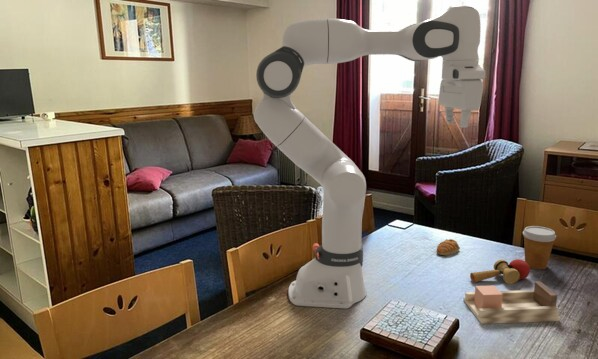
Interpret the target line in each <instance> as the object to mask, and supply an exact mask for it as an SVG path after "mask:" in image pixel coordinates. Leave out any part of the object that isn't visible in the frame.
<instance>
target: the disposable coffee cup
mask: <svg viewBox="0 0 598 359" xmlns="http://www.w3.org/2000/svg"><path fill="white" fill-rule="evenodd" d="M522 236H523V241H524V242H523V245H524V247H523V248H524V261H525V262H526V263H527V264H528V265H529V267H530V269H534V270H545V269H547V267H548V264H549V260H550V257H551V254H552V250H553V246H554V242H555V240H556V238H557V235H556V232H555V230H553V229H552V228H549V227H544V226H539V225H531V226H530V225H529V226H526V227H525V228H524V229H523V231H522Z"/></svg>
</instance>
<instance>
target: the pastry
mask: <svg viewBox="0 0 598 359" xmlns="http://www.w3.org/2000/svg"><path fill="white" fill-rule="evenodd" d="M460 250H461V248H460V246H459V244H458V242H457V240H454V239H452V238H449V239H447V238H446V239H445V240H443V241H441V242H439V243H438V245H437V247H436V255H441V256H445V257H448V256H451V255H452V256H453V255H454V254H456V253H458V252H459V251H460Z"/></svg>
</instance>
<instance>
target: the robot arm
mask: <svg viewBox="0 0 598 359" xmlns="http://www.w3.org/2000/svg"><path fill="white" fill-rule="evenodd" d="M480 43H481V15H480V13H479V11H478V9H476V8H474V7H472V6H469V5H458V4H457V5H452V6H449V7H448V8H447V9H446V10H444V11H443V12H441V13H439V14H438V15H436V16H433V17H431V18H428V19H426V20H424V21H423V20H422V21H421V22H418V23H413V24H410V25H407V26H406V27H403V28H402V29H399V30H398V29H397V30H370V29H365V28H363V27H361V26H360V25H358V24H357V23H356V22H355V21H353V20H348V19H341V18H313V19H306V20H300V21H296V22H295V21H294V22H292V23H290V24H288V26H286V28H285V30H284V33H283V35H282V45H281V47H280V48H278V49H276V50H275V51H273V52H271V53H269V54H267V55H266V56H264V57H263V58H262V59H261V61H260V62H259V63H258V65H257V69H256V76H255V77H256V82H257V86H259V88H260V90H261V92H262V97H261V99H260V101H259V102H258V103H257V105H256V107H255V109H254V111H253V119H254V122H255V123H256V124H257V126H258V127H259V129H260V131H262V133H263V134H264V135H265V136H266V138H267V139H268V140H269V141H270V142H271V143H272V144H273V145H274V146H275V147H277V149H278V150H279V151H281V152H282V154H284V155H285V156H286V157H287V158H288V159H289V160H291V162H293V164H295V166H296V167H298V168H300V169H301V170H302V171H304V172H305V173H306V174H308V175H309V176H310V177H312V178H313V179H314V180H315V181H316V182H317V183H318V184H319V185H320V186H321V187H322V190H323V202H322V203H323V204H322V205H323V207H322V217H321V243H322V244H321V245H319V243H316V242H315V243H313V245H312V250H313V252H314V258H312V260H310V261H308V262H307V263H306V264H304V265H303V266H301V267H300V268H299V269H298V272H297V274H296V278H295V279H296V280H294V281H292V282H291V283H290V285H289V286H288V291H287V292H288V294H287V295H288V299H289V301H290V302H291V303H292V304H293V305H295V306H300V307H314V308H315V307H316V308H333V309H349V308H351V307H352V306H353V305H354V304H356V303H358V302H360V301H362V300H363V299H365V298H366V296H367V290H366V286H365V281H364V275H363V264H364V248H363V245H362V233H363V232H362V228H363V226H362V225H363V223H362V222H363V221H362V220H363V215H364V209H365V199H366V193H367V181H366V177H365V175H364V174H363V172H362V171H361V169H359V167H358V166H357V165H356V164H355V162H354V161H353V160H352V159H351V158H350V157H348V155H347V154H345V153H344V151H342V150H341V148H339V147H338V146H337V145H336V144H335V143H334V142H333V141H332V140H330V138H328V137H327V135H325V134H324V133H323V132H322V131H321V130H320V129H319V128H318V127H317V126H316V125H314V123H312V122H311V120H310V119H308V118H307V116H305V114H303V113H302V112H301V111H300V110H299V109H298V108H297V107H296V105H295V104H294V102H293V101H292V98H291V97H292V96H291V95H292V94H293V93H294V92H295V91H296V89H297V88H298V86H299V84H300V81H301V78H302V74H303V70H304V67H306V66H309V65H327V64H332V65H333V64H341V63H347V62H351V61H354V60H356V59H359V58H361V57H364V56H369V55H370V56H371V55H397V56H400V57H402V58H404V59H406V60H408V61H411V62H421V61H425V60H433V59H437V58H438V57H441V58H442V68H441V80H440V85H439V93H438V102H439V105H440V106H443V107H444V113H445V122H446V123H447V124H454V122H455V116H454V111H455V109H456V110H460V114H461V115H460V119H459V121H458V126H459V127H460V128H462V129H463V128H468V127H469V120H470V117H471V115H472V112H473V111H478V110H480V107H481V106H482V105H481V104H482V97H483V91H484V90H483V87H484V85H483V84H484V82H483V80H485V79H486V71H485V69H484V68H482V67H481V65H480V64H479V61H480V60H479V59H480V58H479V52H478V50H479V45H480Z"/></svg>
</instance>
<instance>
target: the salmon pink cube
mask: <svg viewBox="0 0 598 359" xmlns="http://www.w3.org/2000/svg"><path fill="white" fill-rule="evenodd" d="M474 287H475V289H474V292H475V298H474V304H475V305H476V306H477V307H478V308H479V309H481V308H501V307H502V297H503V294H502V293H501V292H500V291H501V290H499V289H498V288H497V287H496V286H495V285H492V284H491V285H475V286H474Z"/></svg>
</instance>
